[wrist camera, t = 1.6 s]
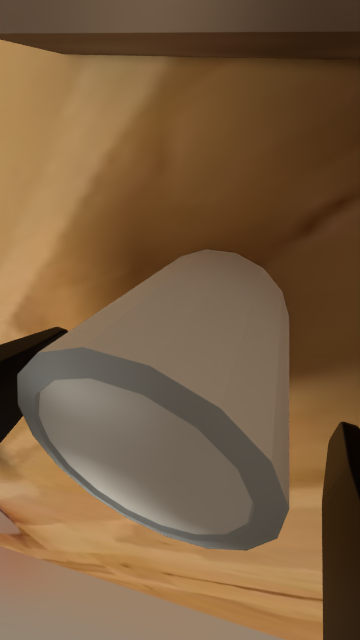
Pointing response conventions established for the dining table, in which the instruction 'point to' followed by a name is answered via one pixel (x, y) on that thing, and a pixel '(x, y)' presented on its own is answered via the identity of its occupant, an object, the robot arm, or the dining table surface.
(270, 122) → the dining table surface
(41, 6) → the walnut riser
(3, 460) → the dining table surface
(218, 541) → the white cup
